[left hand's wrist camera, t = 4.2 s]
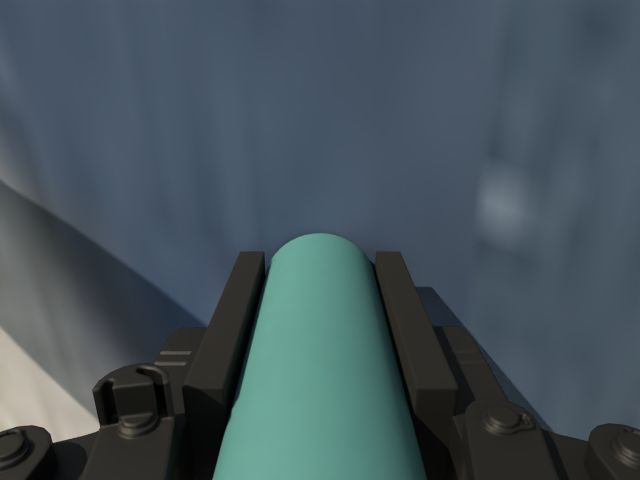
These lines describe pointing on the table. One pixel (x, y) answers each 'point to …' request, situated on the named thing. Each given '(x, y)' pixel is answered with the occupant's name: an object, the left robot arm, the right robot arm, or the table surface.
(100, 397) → the left robot arm
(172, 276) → the table surface
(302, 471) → the peg
